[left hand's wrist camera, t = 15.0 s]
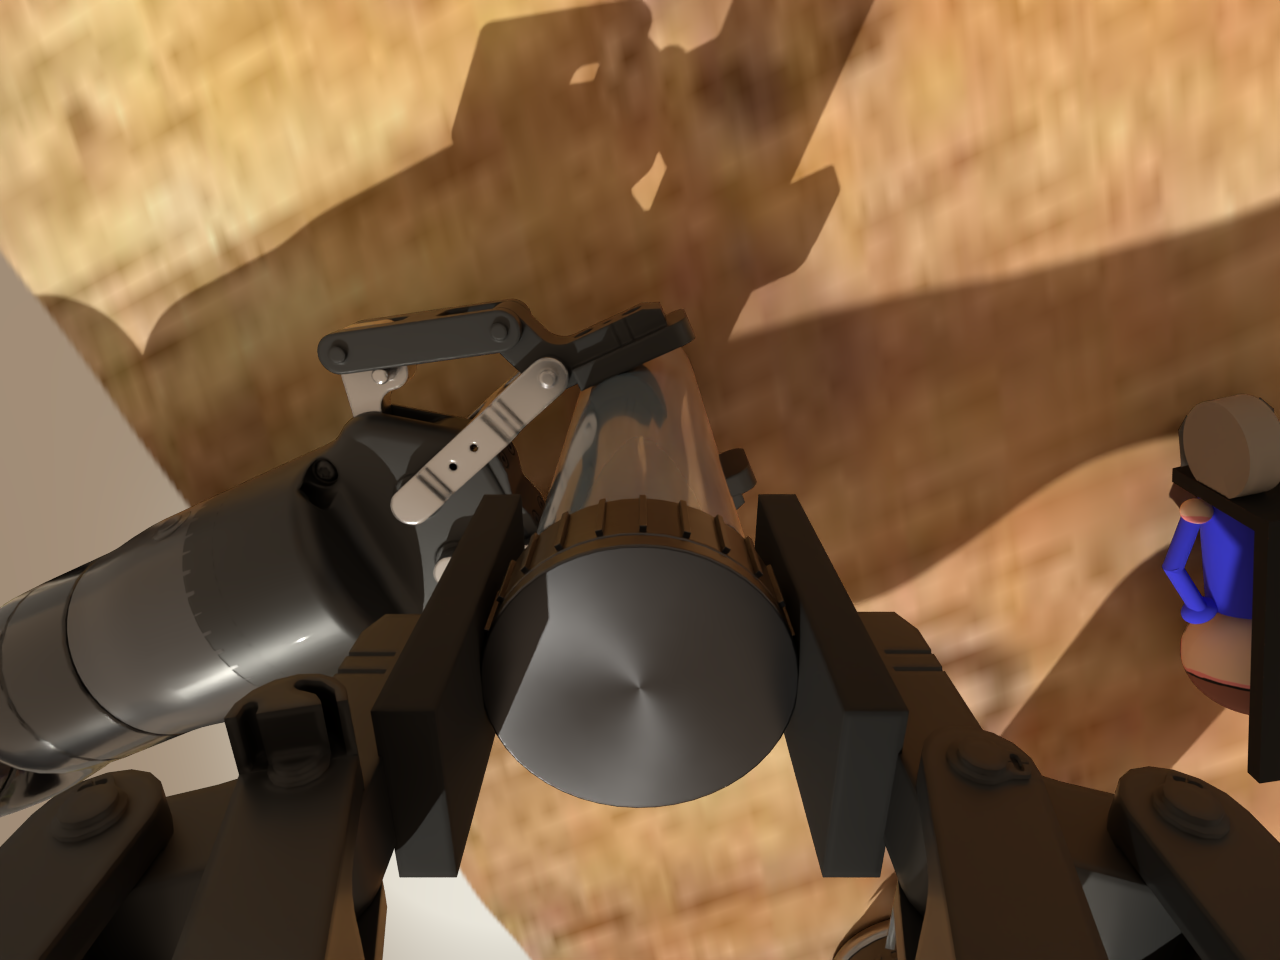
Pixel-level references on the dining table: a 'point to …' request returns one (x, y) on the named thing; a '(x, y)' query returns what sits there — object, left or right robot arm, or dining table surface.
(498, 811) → the dining table surface
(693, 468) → the grey cylinder
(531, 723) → the lid
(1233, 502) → the figurine character
